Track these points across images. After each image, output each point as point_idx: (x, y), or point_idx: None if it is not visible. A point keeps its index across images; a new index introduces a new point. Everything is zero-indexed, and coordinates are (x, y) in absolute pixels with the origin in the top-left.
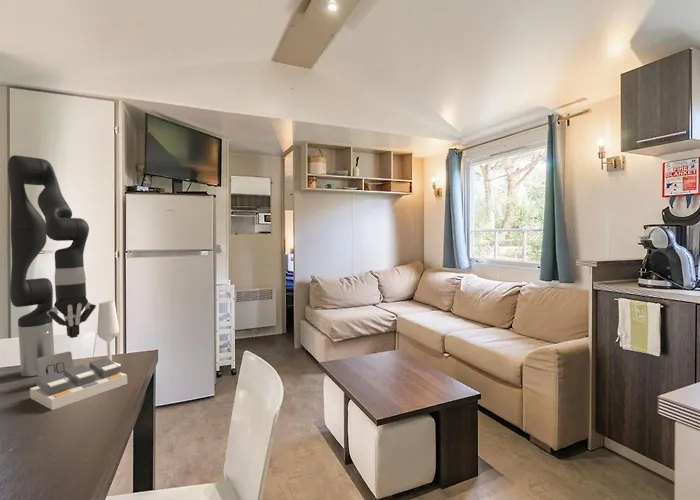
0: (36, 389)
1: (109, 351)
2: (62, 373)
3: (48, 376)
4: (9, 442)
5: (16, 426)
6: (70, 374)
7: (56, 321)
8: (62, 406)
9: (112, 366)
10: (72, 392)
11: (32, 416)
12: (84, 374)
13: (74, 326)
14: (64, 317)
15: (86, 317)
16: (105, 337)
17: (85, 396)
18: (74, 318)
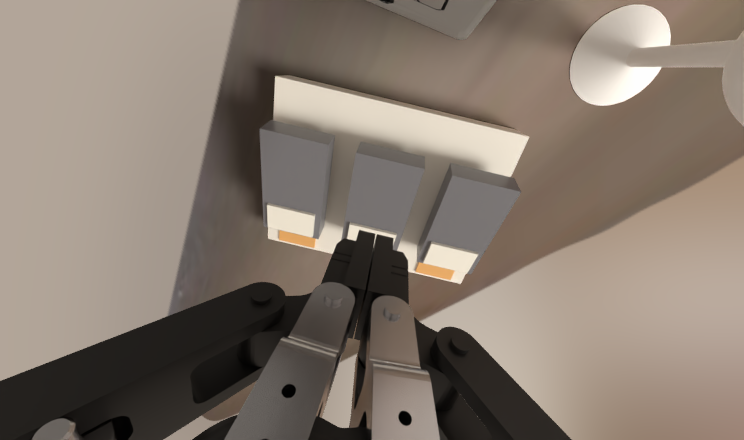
0: (280, 117)
1: (675, 64)
2: (432, 12)
3: (293, 156)
4: (183, 271)
5: (207, 225)
6: (348, 200)
7: (199, 319)
8: None
9: (456, 262)
10: (316, 248)
11: (242, 211)
12: None
13: (355, 332)
14: (278, 355)
15: (456, 426)
16: (723, 91)
17: None
18: (386, 361)
